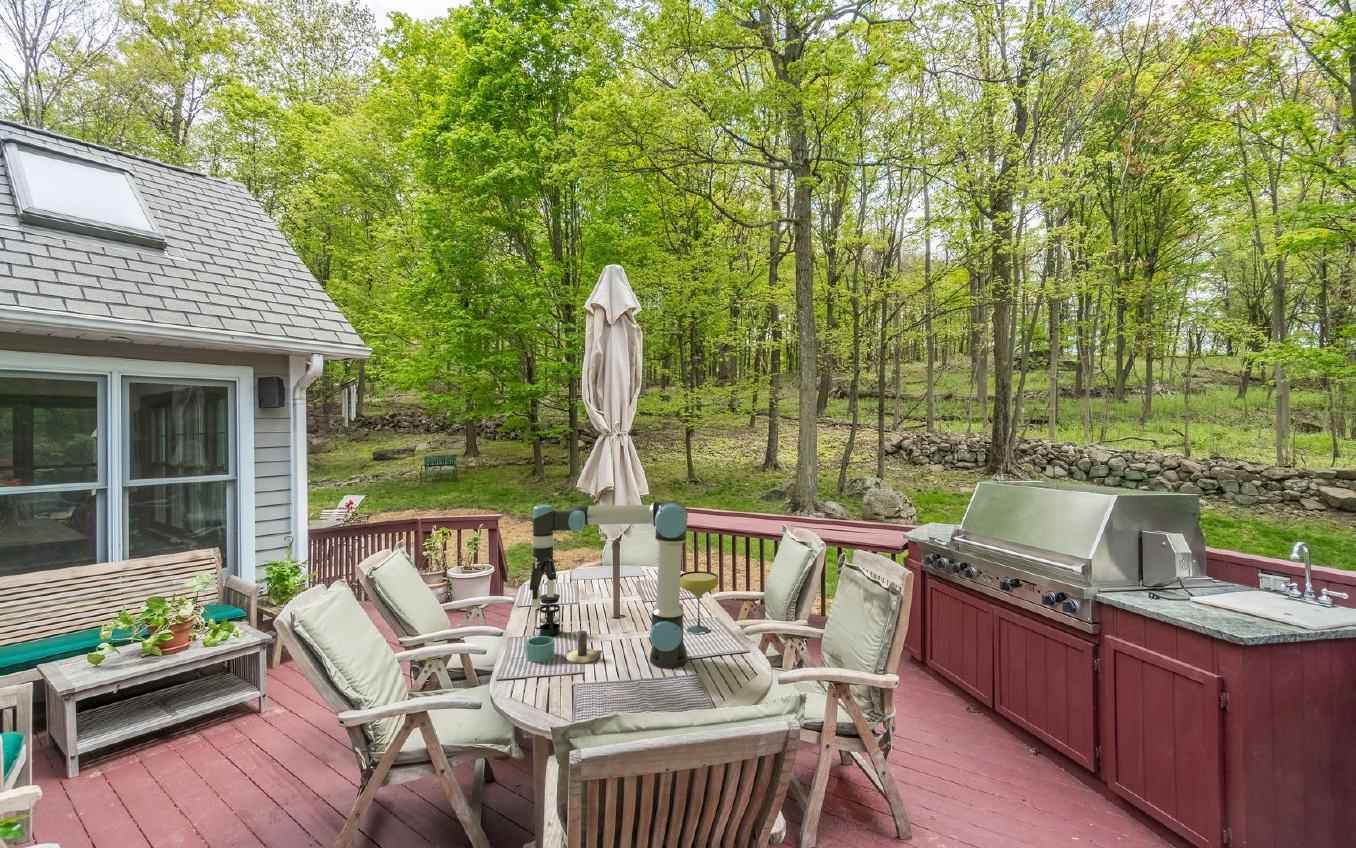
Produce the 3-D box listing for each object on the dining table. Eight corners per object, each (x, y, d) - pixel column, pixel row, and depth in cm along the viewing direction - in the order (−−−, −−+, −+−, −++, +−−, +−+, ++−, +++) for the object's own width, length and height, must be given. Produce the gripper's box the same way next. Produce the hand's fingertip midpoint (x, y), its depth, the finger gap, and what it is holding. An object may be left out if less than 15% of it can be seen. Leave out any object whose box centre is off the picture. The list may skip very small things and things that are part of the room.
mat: (601, 652, 243) (601, 650, 243) (597, 665, 229) (597, 664, 229) (568, 651, 243) (568, 650, 243) (561, 665, 229) (561, 664, 229)
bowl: (556, 653, 241) (556, 636, 241) (550, 664, 230) (550, 646, 230) (530, 653, 241) (530, 636, 241) (523, 664, 230) (523, 646, 230)
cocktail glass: (674, 635, 262) (674, 579, 262) (684, 622, 279) (684, 570, 280) (713, 639, 257) (713, 582, 257) (721, 625, 275) (721, 572, 275)
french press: (560, 629, 270) (560, 579, 270) (563, 635, 261) (563, 584, 262) (534, 632, 266) (534, 581, 266) (536, 639, 257) (536, 587, 257)
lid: (600, 651, 242) (600, 626, 242) (595, 663, 229) (595, 638, 229) (569, 650, 242) (569, 626, 242) (562, 663, 229) (562, 638, 229)
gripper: (546, 539, 235) (546, 592, 235) (519, 552, 211) (519, 611, 211) (564, 540, 234) (564, 593, 234) (539, 553, 209) (539, 612, 209)
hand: (543, 602), depth 222 cm, fingers open, 13 cm apart
